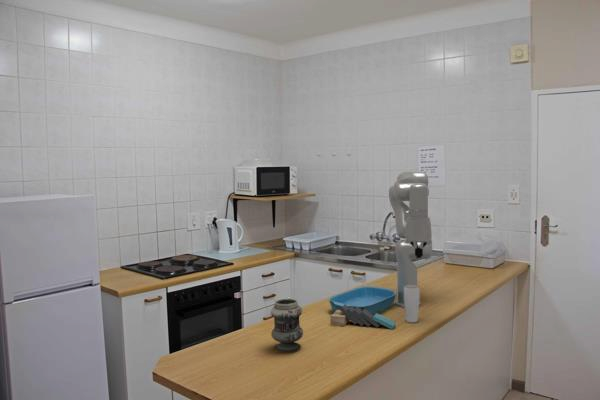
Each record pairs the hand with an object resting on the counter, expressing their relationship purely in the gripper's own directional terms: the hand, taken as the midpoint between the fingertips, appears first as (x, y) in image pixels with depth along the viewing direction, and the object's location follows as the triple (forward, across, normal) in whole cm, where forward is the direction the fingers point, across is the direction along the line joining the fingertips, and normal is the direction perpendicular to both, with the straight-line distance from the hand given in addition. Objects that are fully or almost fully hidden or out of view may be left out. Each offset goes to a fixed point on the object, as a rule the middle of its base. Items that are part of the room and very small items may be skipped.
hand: (418, 257), depth 206 cm
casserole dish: (+30, -28, +16) cm, 44 cm away
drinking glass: (+29, -4, +5) cm, 30 cm away
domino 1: (+28, -25, -6) cm, 38 cm away
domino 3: (+28, -19, -6) cm, 35 cm away
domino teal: (+28, -10, -6) cm, 30 cm away
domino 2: (+28, -22, -6) cm, 37 cm away
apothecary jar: (+29, -43, -41) cm, 66 cm away
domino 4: (+28, -16, -6) cm, 33 cm away
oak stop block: (+29, -33, -6) cm, 44 cm away
